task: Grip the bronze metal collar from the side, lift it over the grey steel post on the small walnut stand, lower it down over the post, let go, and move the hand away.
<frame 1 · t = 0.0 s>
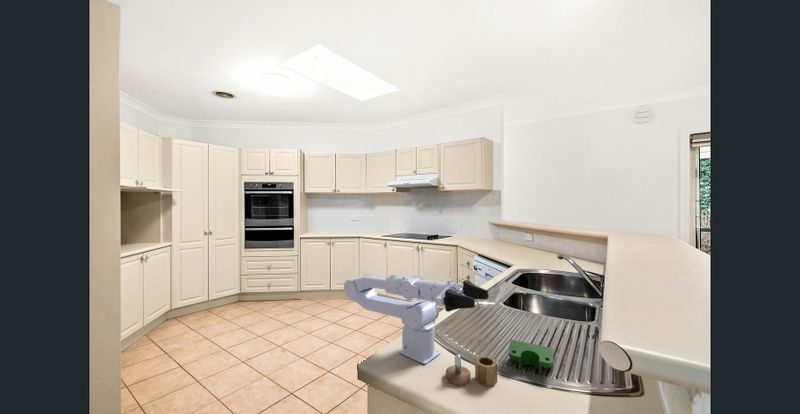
hand: (481, 298, 78), 22 cm above the table, tool horizontal, fingers open, 7 cm apart
walnut stand: (458, 378, 80), on the table
bronze collar: (486, 379, 80), on the table
steel post: (458, 363, 80), on the walnut stand, point 4 cm above the table
clamp: (530, 368, 85), on the table
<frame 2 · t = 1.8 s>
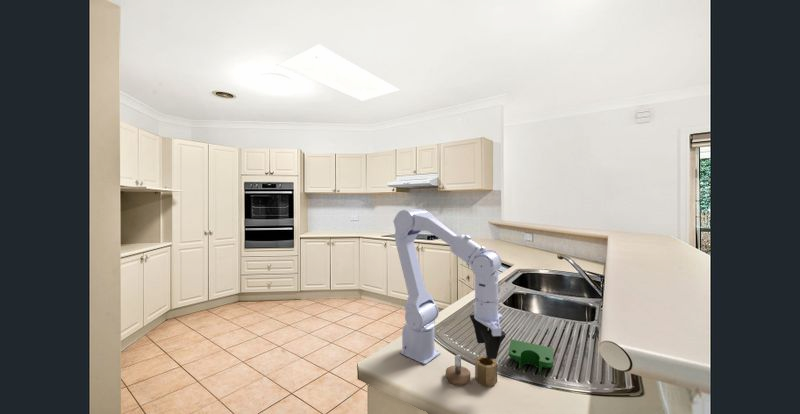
hand: (486, 350, 79), 8 cm above the table, tool pointing down, fingers open, 7 cm apart
nothing on the table moved.
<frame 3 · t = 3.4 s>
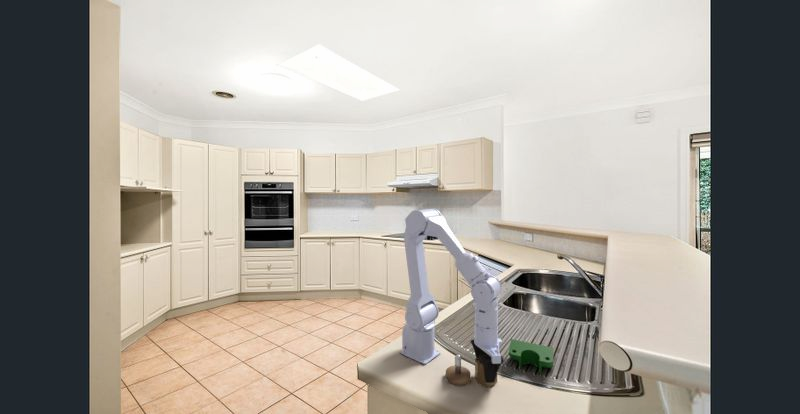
hand: (486, 374, 79), 1 cm above the table, tool pointing down, fingers closed on bronze collar, 5 cm apart
bronze collar: (486, 379, 80), on the table, touching gripper
everything else where it was.
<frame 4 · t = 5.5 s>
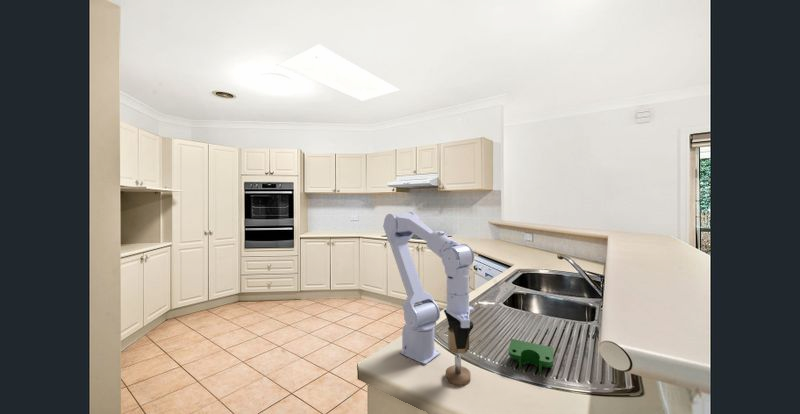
hand: (457, 342, 80), 10 cm above the table, tool pointing down, fingers closed on bronze collar, 5 cm apart
bronze collar: (458, 347, 80), point 8 cm above the table, touching gripper
everything else where it was.
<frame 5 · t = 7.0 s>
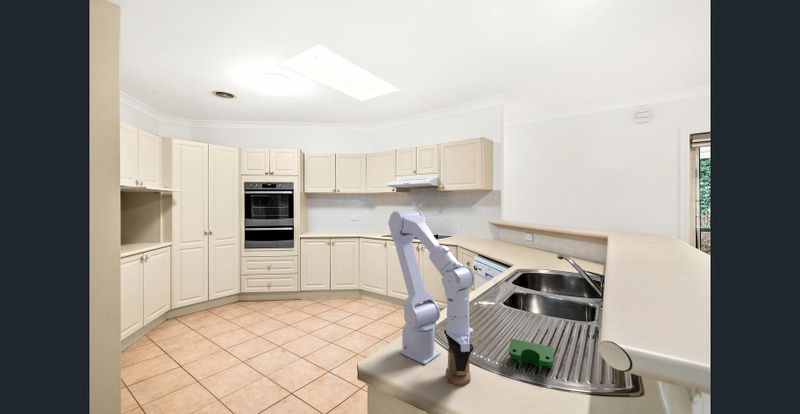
hand: (457, 363, 80), 4 cm above the table, tool pointing down, fingers closed on bronze collar, 5 cm apart
bronze collar: (458, 369, 80), point 2 cm above the table, touching gripper
everything else where it was.
when the fingers open (4 cm above the table, at t = 8.0 s): bronze collar stays where it is, resting on walnut stand.
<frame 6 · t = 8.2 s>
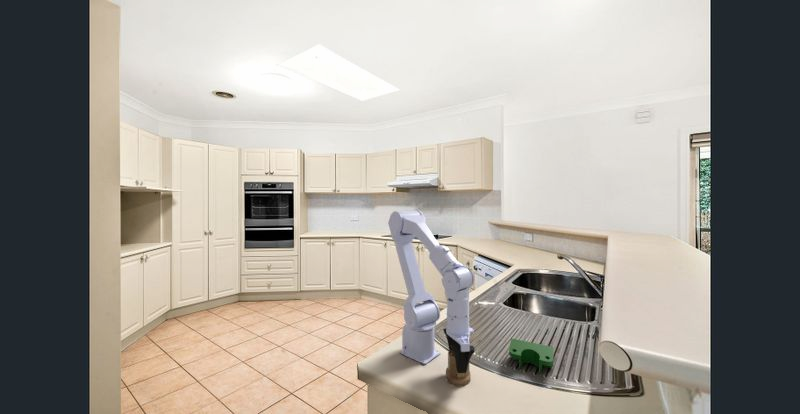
hand: (458, 363, 80), 4 cm above the table, tool pointing down, fingers open, 7 cm apart
bronze collar: (458, 372, 80), point 1 cm above the table, touching walnut stand
everything else where it was.
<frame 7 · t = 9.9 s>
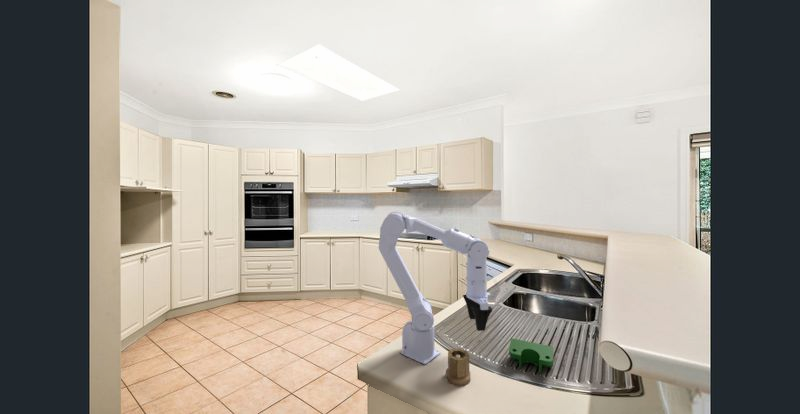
hand: (476, 324, 91), 9 cm above the table, tool pointing down, fingers open, 7 cm apart
nothing on the table moved.
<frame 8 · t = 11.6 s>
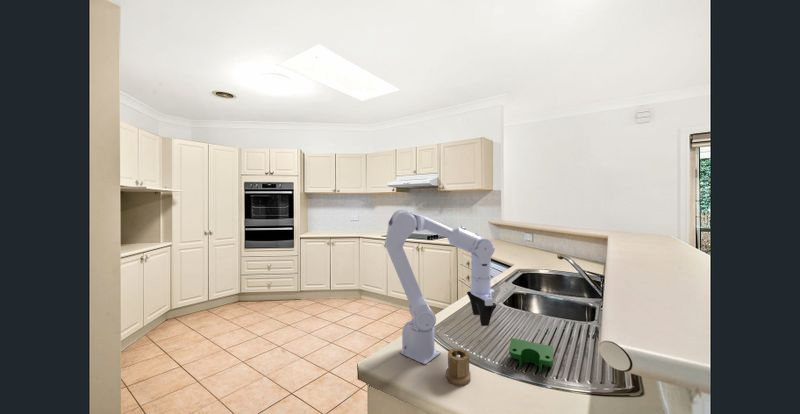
hand: (480, 319, 94), 9 cm above the table, tool pointing down, fingers open, 7 cm apart
at the end: bronze collar 0.1 cm off-centre on the steel post, point 1.5 cm above the steel post's base; bronze collar tilted 0°; the gripper is holding nothing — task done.
